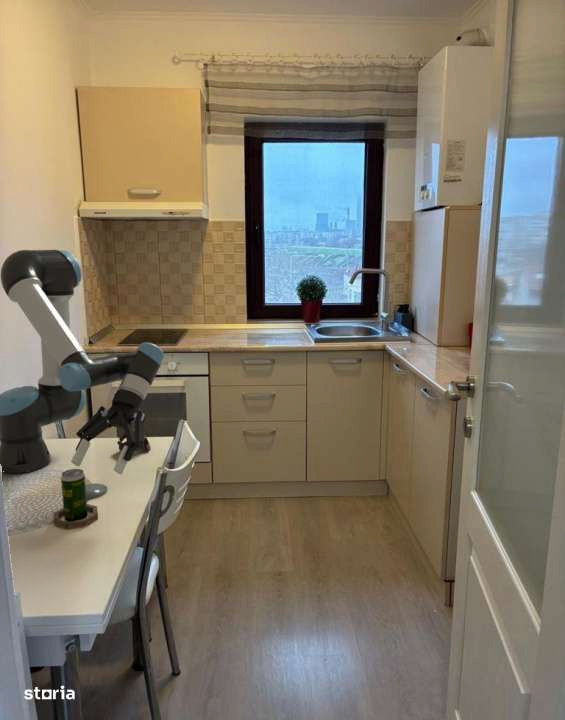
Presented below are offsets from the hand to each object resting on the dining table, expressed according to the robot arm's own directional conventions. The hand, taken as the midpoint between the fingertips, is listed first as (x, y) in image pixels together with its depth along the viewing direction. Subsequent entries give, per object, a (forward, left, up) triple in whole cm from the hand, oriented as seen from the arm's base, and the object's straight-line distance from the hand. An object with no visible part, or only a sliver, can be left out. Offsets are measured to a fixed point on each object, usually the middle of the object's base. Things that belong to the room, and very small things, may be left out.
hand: (95, 468), depth 137 cm
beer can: (-2, -6, -11) cm, 13 cm away
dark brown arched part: (-19, +38, -11) cm, 44 cm away
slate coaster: (-10, +7, -11) cm, 16 cm away
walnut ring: (-2, -6, -11) cm, 13 cm away
